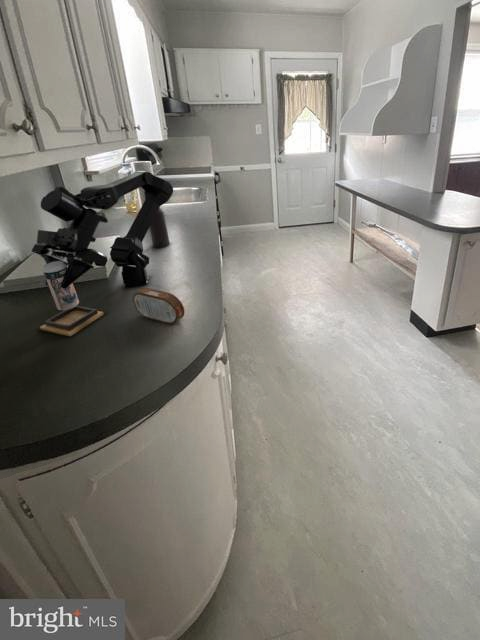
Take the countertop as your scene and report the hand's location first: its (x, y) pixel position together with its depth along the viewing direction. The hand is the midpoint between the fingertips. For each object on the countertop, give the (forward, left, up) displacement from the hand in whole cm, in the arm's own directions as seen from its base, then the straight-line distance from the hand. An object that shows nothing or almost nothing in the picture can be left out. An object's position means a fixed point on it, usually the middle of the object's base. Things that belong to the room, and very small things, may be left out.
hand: (55, 286), depth 74 cm
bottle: (-19, -55, -11) cm, 59 cm away
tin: (-23, +5, -11) cm, 26 cm away
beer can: (-1, -1, -7) cm, 7 cm away
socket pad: (-1, -1, -11) cm, 11 cm away
